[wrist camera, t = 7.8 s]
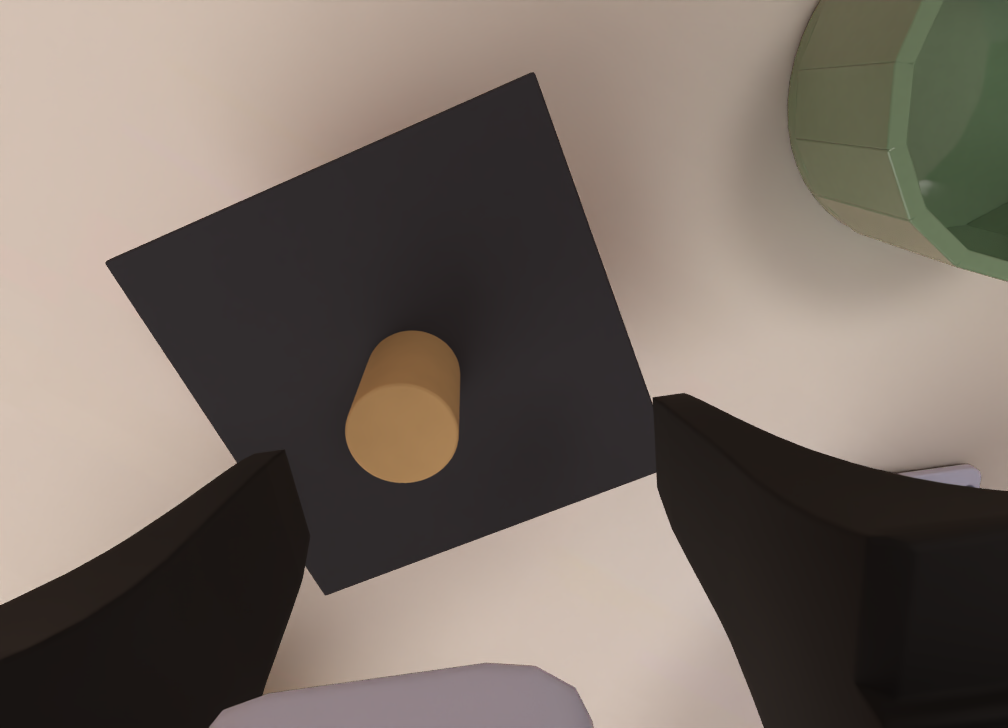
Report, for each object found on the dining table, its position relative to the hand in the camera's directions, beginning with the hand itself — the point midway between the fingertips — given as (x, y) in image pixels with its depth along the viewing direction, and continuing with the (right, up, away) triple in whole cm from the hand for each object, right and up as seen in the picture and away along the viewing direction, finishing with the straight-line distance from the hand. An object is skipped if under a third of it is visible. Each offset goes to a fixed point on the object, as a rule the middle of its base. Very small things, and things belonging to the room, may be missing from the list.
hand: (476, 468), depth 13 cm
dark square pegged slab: (-2, +2, +5) cm, 6 cm away
